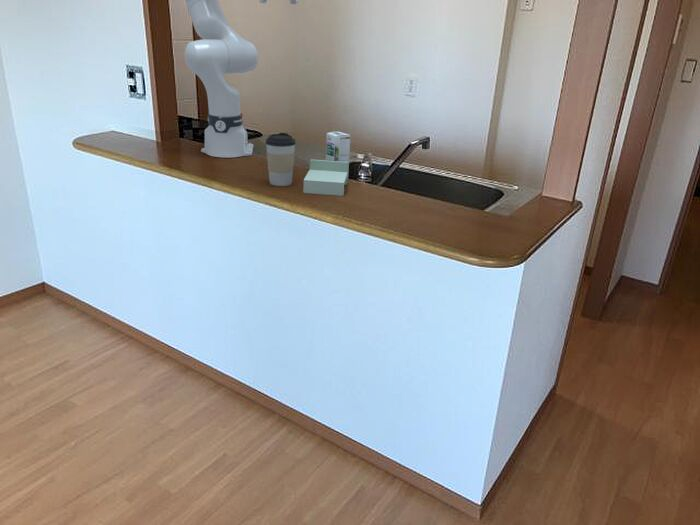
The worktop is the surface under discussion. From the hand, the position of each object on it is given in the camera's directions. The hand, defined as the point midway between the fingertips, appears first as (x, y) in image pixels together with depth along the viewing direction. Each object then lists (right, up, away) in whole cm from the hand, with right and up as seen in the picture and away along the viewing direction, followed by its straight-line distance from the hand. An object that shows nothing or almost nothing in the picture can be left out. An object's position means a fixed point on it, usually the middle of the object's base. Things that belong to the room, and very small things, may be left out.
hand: (279, 3), depth 155 cm
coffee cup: (-2, -48, +19) cm, 51 cm away
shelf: (+12, -50, +16) cm, 54 cm away
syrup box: (+15, -45, +27) cm, 55 cm away
